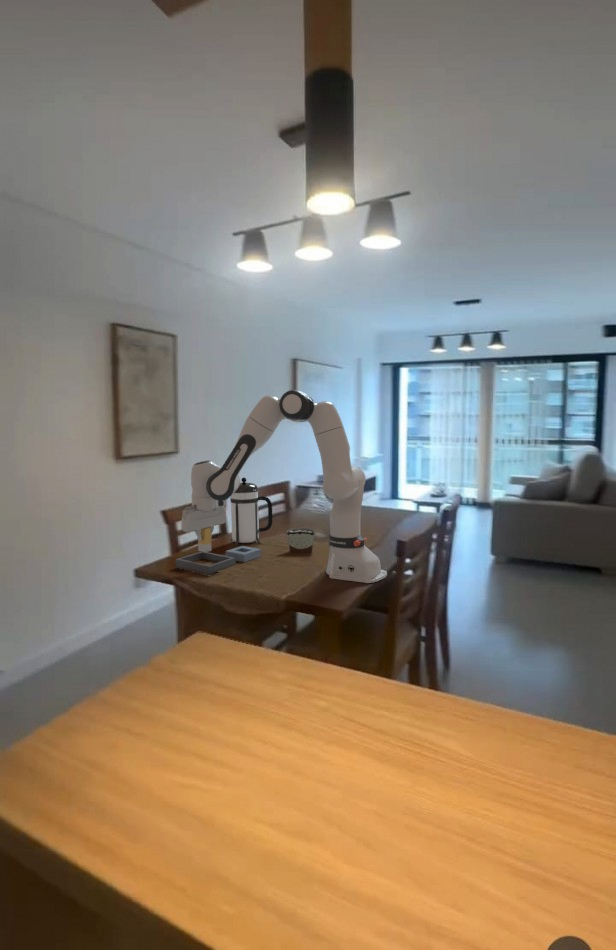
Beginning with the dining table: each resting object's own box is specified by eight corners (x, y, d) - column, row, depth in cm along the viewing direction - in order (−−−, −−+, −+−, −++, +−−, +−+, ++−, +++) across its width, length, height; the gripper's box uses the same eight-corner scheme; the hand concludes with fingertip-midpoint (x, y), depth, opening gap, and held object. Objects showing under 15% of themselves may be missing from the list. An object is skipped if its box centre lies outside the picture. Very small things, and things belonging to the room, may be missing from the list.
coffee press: (250, 549, 237) (248, 480, 234) (222, 544, 246) (220, 478, 242) (273, 540, 252) (272, 476, 248) (246, 536, 260) (244, 474, 257)
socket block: (261, 558, 222) (261, 549, 222) (244, 564, 214) (244, 554, 214) (242, 555, 228) (242, 545, 228) (225, 560, 220) (225, 551, 219)
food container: (316, 550, 234) (316, 527, 233) (315, 554, 228) (315, 530, 227) (288, 550, 235) (287, 527, 234) (286, 554, 229) (285, 530, 228)
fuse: (211, 550, 210) (210, 527, 209) (205, 552, 208) (205, 529, 207) (204, 549, 213) (203, 526, 212) (198, 550, 210) (197, 527, 209)
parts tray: (235, 566, 212) (235, 557, 211) (209, 576, 200) (209, 566, 200) (202, 559, 222) (202, 551, 221) (176, 568, 211) (175, 559, 210)
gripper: (188, 508, 198) (189, 546, 200) (228, 500, 214) (229, 535, 216) (176, 506, 201) (178, 543, 203) (216, 499, 218) (217, 533, 220)
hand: (204, 539), depth 210 cm, fingers closed on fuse, 3 cm apart
